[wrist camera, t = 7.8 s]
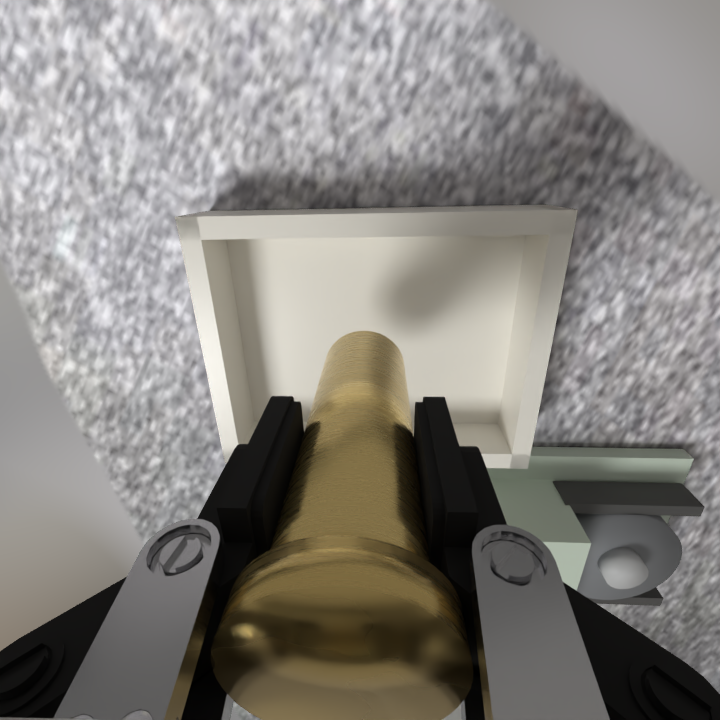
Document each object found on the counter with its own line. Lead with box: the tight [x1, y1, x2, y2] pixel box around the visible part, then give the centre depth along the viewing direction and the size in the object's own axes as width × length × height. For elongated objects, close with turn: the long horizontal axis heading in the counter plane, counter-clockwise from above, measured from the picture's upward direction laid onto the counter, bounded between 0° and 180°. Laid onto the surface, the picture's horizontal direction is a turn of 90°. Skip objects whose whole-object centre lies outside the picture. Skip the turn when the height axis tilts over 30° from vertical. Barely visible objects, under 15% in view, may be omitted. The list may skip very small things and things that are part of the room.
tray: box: [175, 204, 578, 469], centre depth 17 cm, size 14×11×3 cm
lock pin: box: [211, 331, 473, 720], centre depth 10 cm, size 4×4×10 cm
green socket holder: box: [487, 447, 704, 606], centre depth 21 cm, size 14×10×5 cm
